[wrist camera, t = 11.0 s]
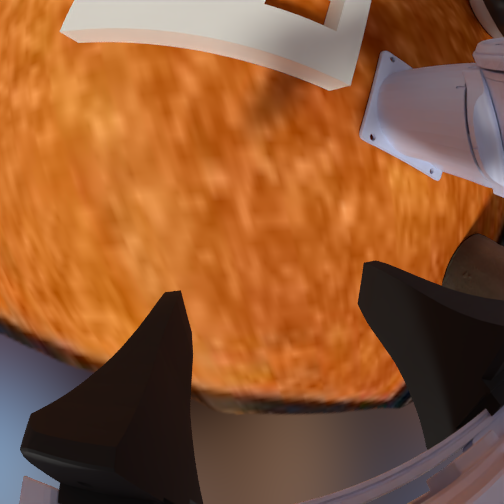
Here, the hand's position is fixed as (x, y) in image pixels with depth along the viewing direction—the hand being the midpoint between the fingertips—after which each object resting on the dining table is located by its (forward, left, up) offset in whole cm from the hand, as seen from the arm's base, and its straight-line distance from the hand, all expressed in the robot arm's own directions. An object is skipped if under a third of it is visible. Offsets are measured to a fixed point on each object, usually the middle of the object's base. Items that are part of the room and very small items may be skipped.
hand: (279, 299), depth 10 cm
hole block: (+6, -16, -9) cm, 20 cm away
